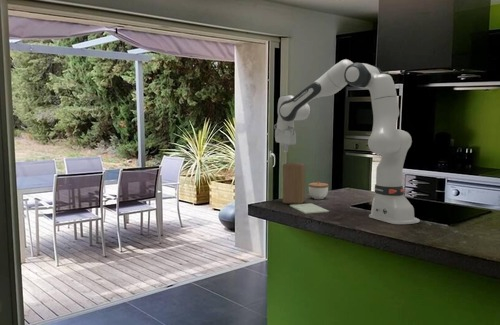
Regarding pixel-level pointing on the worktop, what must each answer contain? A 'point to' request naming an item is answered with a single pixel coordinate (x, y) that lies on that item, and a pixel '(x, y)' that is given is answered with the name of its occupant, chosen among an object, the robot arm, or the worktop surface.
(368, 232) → the worktop surface
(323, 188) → the lidded jar
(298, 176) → the wooden block
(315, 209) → the mat
